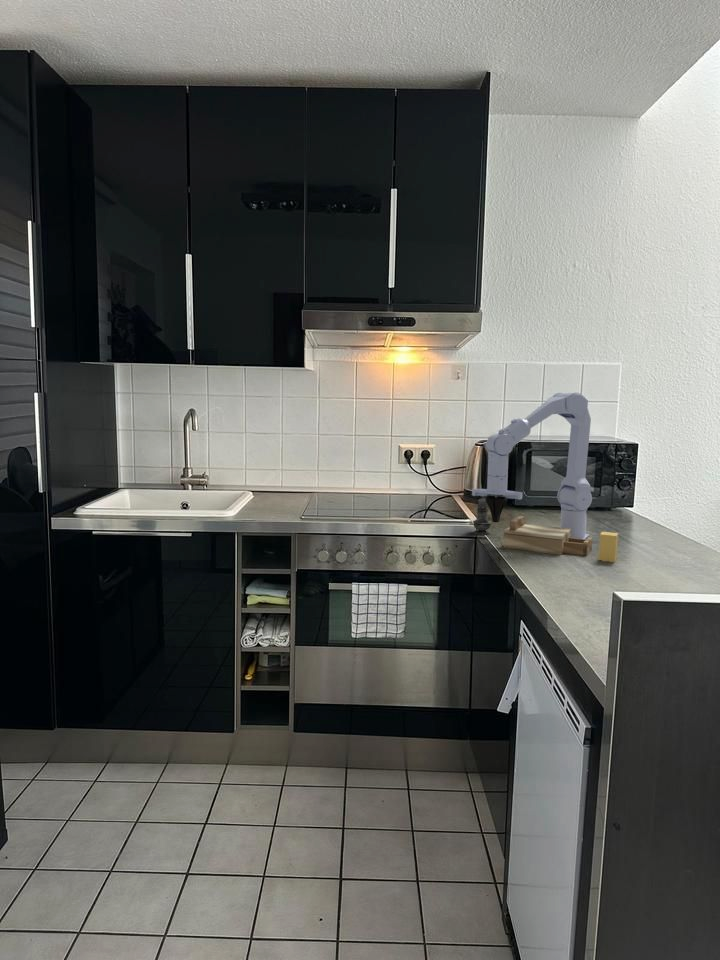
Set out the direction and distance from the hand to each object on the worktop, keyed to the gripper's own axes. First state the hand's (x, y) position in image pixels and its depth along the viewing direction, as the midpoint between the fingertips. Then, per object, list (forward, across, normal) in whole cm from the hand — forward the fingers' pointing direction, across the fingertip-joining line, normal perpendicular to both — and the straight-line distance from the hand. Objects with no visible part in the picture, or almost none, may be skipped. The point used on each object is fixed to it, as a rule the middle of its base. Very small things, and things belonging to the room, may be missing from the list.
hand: (495, 521), depth 192 cm
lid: (+2, +12, 0) cm, 13 cm away
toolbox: (+6, +16, 0) cm, 17 cm away
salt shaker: (+6, -8, +10) cm, 14 cm away
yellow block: (+6, +32, -6) cm, 33 cm away
